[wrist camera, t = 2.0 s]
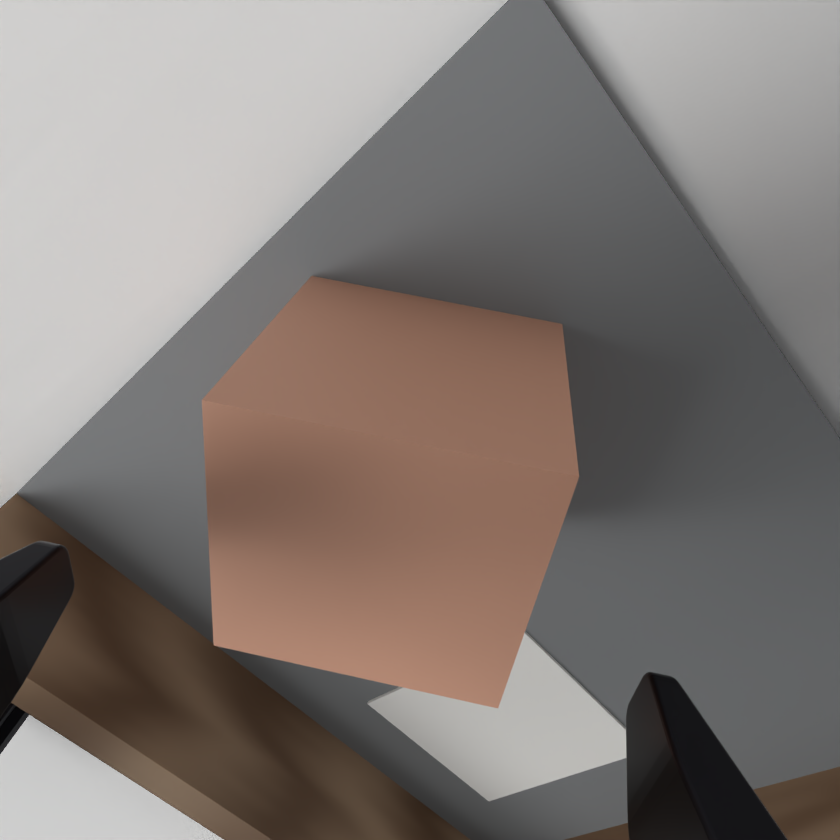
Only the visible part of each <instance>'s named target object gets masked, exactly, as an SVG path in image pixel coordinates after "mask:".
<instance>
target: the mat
mask: <svg viewBox="0 0 840 840" xmlns="http://www.w3.org/2000/svg"><path fill="white" fill-rule="evenodd" d="M311 276H315V277H320V278H325V279H331V280H336V281H341V282H346V283H352V284H357V285H362V286H367V287H372V288H378V289H383V290H388V291H393V292H399V293H404V294H409V295H414V296H419V297H425V298H430V299H435V300H440V301H445V302H451V303H456V304H461V305H466V306H472V307H477V308H482V309H487V310H492V311H498V312H503V313H508V314H513V315H518V316H524V317H529V318H534V319H539V320H545V321H550V322H555V323H560V324H562V326H563V335H564V344H565V353H566V362H567V371H568V380H569V389H570V398H571V407H572V416H573V425H574V434H575V443H576V452H577V461H578V470H579V479H578V482H577V484H576V487H575V490H574V493H573V496H572V499H571V502H570V504H569V507H568V510H567V513H566V516H565V519H564V522H563V524H562V527H561V530H560V533H559V536H558V539H557V542H556V544H555V547H554V550H553V553H552V556H551V559H550V562H549V564H548V567H547V570H546V573H545V576H544V579H543V582H542V584H541V587H540V590H539V593H538V596H537V599H536V602H535V604H534V607H533V610H532V613H531V616H530V619H529V622H528V624H527V627H526V630H525V633H524V636H523V639H522V642H521V644H520V647H519V650H518V653H517V656H516V659H515V662H514V664H513V667H512V670H511V673H510V676H509V679H508V682H507V684H506V687H505V690H504V693H503V696H502V699H501V702H500V704H499V707H498V708H494V707H489V706H484V705H480V704H475V703H471V702H466V701H462V700H457V699H453V698H448V697H444V696H439V695H435V694H430V693H426V692H421V691H417V690H412V689H408V688H403V687H399V686H394V685H390V684H385V683H381V682H376V681H372V680H367V679H363V678H358V677H354V676H349V675H345V674H340V673H336V672H331V671H327V670H322V669H318V668H313V667H309V666H304V665H300V664H295V663H291V662H286V661H282V660H277V659H273V658H268V657H264V656H259V655H254V654H250V653H245V652H241V651H236V650H232V649H227V648H223V647H218V646H217V647H218V648H220V649H221V650H222V651H224V652H225V653H226V654H228V655H229V656H230V657H232V658H233V659H234V660H236V661H237V662H238V663H239V664H241V665H242V666H243V667H245V668H246V669H247V670H249V671H250V672H251V673H253V674H254V675H255V676H256V677H258V678H259V679H260V680H262V681H263V682H264V683H266V684H267V685H268V686H270V687H271V688H272V689H274V690H275V691H276V692H277V693H279V694H280V695H281V696H283V697H284V698H285V699H287V700H288V701H289V702H291V703H292V704H293V705H294V706H296V707H297V708H298V709H300V710H301V711H302V712H304V713H305V714H306V715H308V716H309V717H310V718H312V719H313V720H314V721H315V722H317V723H318V724H319V725H321V726H322V727H323V728H325V729H326V730H327V731H329V732H330V733H331V734H332V735H334V736H335V737H336V738H338V739H339V740H340V741H342V742H343V743H344V744H346V745H347V746H348V747H350V748H351V749H352V750H353V751H355V752H356V753H357V754H359V755H360V756H361V757H363V758H364V759H365V760H367V761H368V762H369V763H370V764H372V765H373V766H374V767H376V768H377V769H378V770H380V771H381V772H382V773H384V774H385V775H386V776H388V777H389V778H390V779H391V780H393V781H394V782H395V783H397V784H398V785H399V786H401V787H402V788H403V789H405V790H406V791H407V792H409V793H410V794H411V795H412V796H414V797H415V798H416V799H418V800H419V801H420V802H422V803H423V804H424V805H426V806H427V807H428V808H429V809H431V810H432V811H433V812H435V813H436V814H437V815H439V816H440V817H441V818H443V819H444V820H445V821H447V822H448V823H449V824H450V825H452V826H453V827H454V828H456V829H457V830H458V831H460V832H461V833H462V834H464V835H465V836H466V837H467V838H469V839H470V840H565V839H569V838H573V837H576V836H580V835H584V834H588V833H591V832H595V831H599V830H603V829H606V828H610V827H614V826H618V825H622V824H625V823H628V817H627V766H626V712H627V707H628V704H629V702H630V700H631V698H632V696H633V694H634V692H635V690H636V688H637V686H638V685H639V683H640V681H641V679H642V677H643V676H644V674H646V673H647V672H654V673H659V674H663V675H668V676H671V677H673V678H675V679H676V680H677V681H678V682H679V683H680V685H681V686H682V688H683V689H684V690H685V692H686V693H687V695H688V696H689V698H690V699H691V701H692V702H693V703H694V705H695V706H696V708H697V709H698V711H699V712H700V714H701V715H702V716H703V718H704V719H705V721H706V722H707V724H708V725H709V727H710V728H711V729H712V731H713V732H714V734H715V735H716V737H717V738H718V740H719V741H720V742H721V744H722V745H723V747H724V748H725V750H726V751H727V753H728V754H729V755H730V757H731V758H732V760H733V761H734V763H735V764H736V766H737V767H738V768H739V770H740V771H741V773H742V774H743V776H744V777H745V779H746V780H747V781H748V783H749V784H750V786H751V787H752V789H757V788H761V787H765V786H768V785H772V784H776V783H780V782H784V781H787V780H791V779H795V778H799V777H802V776H806V775H810V774H814V773H817V772H821V771H825V770H829V769H832V768H836V767H840V438H839V437H838V435H837V434H836V432H835V431H834V429H833V428H832V426H831V425H830V423H829V422H828V420H827V419H826V417H825V416H824V414H823V413H822V412H821V410H820V409H819V407H818V406H817V404H816V403H815V401H814V400H813V398H812V397H811V395H810V394H809V392H808V391H807V389H806V388H805V386H804V385H803V383H802V382H801V380H800V379H799V377H798V376H797V374H796V373H795V371H794V370H793V369H792V367H791V366H790V364H789V363H788V361H787V360H786V358H785V357H784V355H783V354H782V352H781V351H780V349H779V348H778V346H777V345H776V343H775V342H774V340H773V339H772V337H771V336H770V334H769V333H768V331H767V330H766V329H765V327H764V326H763V324H762V323H761V321H760V320H759V318H758V317H757V315H756V314H755V312H754V311H753V309H752V308H751V306H750V305H749V303H748V302H747V300H746V299H745V297H744V296H743V294H742V293H741V291H740V290H739V288H738V287H737V286H736V284H735V283H734V281H733V280H732V278H731V277H730V275H729V274H728V272H727V271H726V269H725V268H724V266H723V265H722V263H721V262H720V260H719V259H718V257H717V256H716V254H715V253H714V251H713V250H712V248H711V247H710V245H709V244H708V243H707V241H706V240H705V238H704V237H703V235H702V234H701V232H700V231H699V229H698V228H697V226H696V225H695V223H694V222H693V220H692V219H691V217H690V216H689V214H688V213H687V211H686V210H685V208H684V207H683V205H682V204H681V203H680V201H679V200H678V198H677V197H676V195H675V194H674V192H673V191H672V189H671V188H670V186H669V185H668V183H667V182H666V180H665V179H664V177H663V176H662V174H661V173H660V171H659V170H658V168H657V167H656V165H655V164H654V162H653V161H652V160H651V158H650V157H649V155H648V154H647V152H646V151H645V149H644V148H643V146H642V145H641V143H640V142H639V140H638V139H637V137H636V136H635V134H634V133H633V131H632V130H631V128H630V127H629V125H628V124H627V122H626V121H625V120H624V118H623V117H622V115H621V114H620V112H619V111H618V109H617V108H616V106H615V105H614V103H613V102H612V100H611V99H610V97H609V96H608V94H607V93H606V91H605V90H604V88H603V87H602V85H601V84H600V82H599V81H598V79H597V78H596V77H595V75H594V74H593V72H592V71H591V69H590V68H589V66H588V65H587V63H586V62H585V60H584V59H583V57H582V56H581V54H580V53H579V51H578V50H577V48H576V47H575V45H574V44H573V42H572V41H571V39H570V38H569V36H568V35H567V34H566V32H565V31H564V29H563V28H562V26H561V25H560V23H559V22H558V20H557V19H556V17H555V16H554V14H553V13H552V11H551V10H550V8H549V7H548V5H547V4H546V2H545V1H544V0H508V1H507V2H506V3H505V4H504V5H503V6H502V7H501V8H500V9H499V10H498V11H497V12H496V13H495V14H494V15H493V16H492V17H491V18H490V19H489V20H488V21H487V22H486V23H485V24H484V25H483V26H482V27H481V28H480V29H479V30H478V31H477V32H476V33H475V34H474V35H473V36H472V37H471V38H470V39H469V40H468V41H467V42H466V43H465V44H464V45H463V46H462V47H461V48H460V49H459V50H458V51H457V52H456V53H455V54H454V55H453V56H452V57H451V58H450V59H449V60H448V61H447V62H446V63H445V64H444V65H443V66H442V67H441V68H440V69H439V70H438V71H437V72H436V73H435V74H434V75H433V76H432V77H431V78H430V79H429V80H428V81H427V82H426V83H425V84H424V85H423V86H422V87H421V88H420V89H419V90H418V91H417V92H416V93H415V94H414V95H413V96H412V97H411V98H410V99H409V100H408V101H407V102H406V103H405V104H404V106H403V107H402V108H401V109H400V110H399V111H398V112H397V113H396V114H395V115H394V116H393V117H392V118H391V119H390V120H389V121H388V122H387V123H386V124H385V125H384V126H383V127H382V128H381V129H380V130H379V131H378V132H377V133H376V134H375V135H374V136H373V137H372V138H371V139H370V140H369V141H368V142H367V143H366V144H365V145H364V146H363V147H362V148H361V149H360V150H359V151H358V152H357V153H356V154H355V155H354V156H353V157H352V158H351V159H350V160H349V161H348V162H347V163H346V164H345V165H344V166H343V167H342V168H341V169H340V170H339V171H338V172H337V173H336V174H335V175H334V176H333V177H332V178H331V179H330V180H329V181H328V182H327V183H326V184H325V185H324V186H323V187H322V188H321V189H320V190H319V191H318V192H317V193H316V194H315V195H314V196H313V197H312V198H311V199H310V200H309V201H308V202H307V203H306V204H305V205H304V206H303V207H302V208H301V209H300V210H299V211H298V212H297V213H296V214H295V215H294V216H293V217H292V218H291V219H290V220H289V221H288V222H287V223H286V224H285V225H284V226H283V227H282V228H281V229H280V230H279V231H278V232H277V233H276V234H275V235H274V236H273V237H272V238H271V239H270V240H269V241H268V242H267V243H266V244H265V245H264V246H263V247H262V248H261V249H260V250H259V251H258V252H257V253H256V254H255V255H254V256H253V257H252V258H251V259H250V260H249V261H248V262H247V263H246V264H245V265H244V266H243V267H242V268H241V269H240V270H239V271H238V272H237V273H236V274H235V275H234V276H233V277H232V278H231V279H230V280H229V281H228V282H227V283H226V284H225V285H224V286H223V287H222V288H221V289H220V290H219V291H218V292H217V293H216V294H215V295H214V296H213V297H212V298H211V299H210V300H209V301H208V302H207V303H206V304H205V305H204V306H203V307H202V308H201V309H200V310H199V311H198V312H197V313H196V314H195V315H194V316H193V317H192V318H191V319H190V320H189V321H188V322H187V323H186V324H185V325H184V326H183V327H182V328H181V329H180V330H179V331H178V332H177V333H176V334H175V335H174V336H173V337H172V338H171V339H170V340H169V341H168V342H167V343H166V344H165V345H164V346H163V347H162V348H161V349H160V350H159V351H158V352H157V353H156V354H155V355H154V356H153V357H152V358H151V359H150V360H149V361H148V362H147V363H146V364H145V365H144V366H143V367H142V368H141V369H140V370H139V371H138V372H137V373H136V374H135V375H134V376H133V377H132V378H131V379H130V380H129V381H128V382H127V383H126V384H125V385H124V386H123V387H122V388H121V389H120V390H119V391H118V392H117V393H116V394H115V395H114V396H113V397H112V398H111V399H110V400H109V401H108V402H107V403H106V404H105V405H104V406H103V407H102V408H101V409H100V410H99V411H98V412H97V413H96V414H95V415H94V416H93V417H92V418H91V419H90V420H89V421H88V422H87V423H86V424H85V425H84V426H83V427H82V428H81V429H80V430H79V431H78V432H77V433H76V434H75V435H74V436H73V437H72V438H71V439H70V440H69V441H68V442H67V443H66V444H65V445H64V446H63V447H62V448H61V449H60V450H59V451H58V452H57V453H56V454H55V455H54V456H53V457H52V458H51V459H50V460H49V461H48V462H47V463H46V464H45V465H44V466H43V467H42V468H41V469H40V470H39V471H38V472H37V473H36V474H35V475H34V476H33V477H32V478H31V479H30V480H29V481H28V482H27V483H26V484H25V485H24V486H23V487H22V488H21V489H20V490H19V491H18V492H17V494H18V495H19V496H21V497H22V498H23V499H24V500H26V501H27V502H28V503H30V504H31V505H32V506H34V507H35V508H36V509H38V510H39V511H40V512H42V513H43V514H44V515H45V516H47V517H48V518H49V519H51V520H52V521H53V522H55V523H56V524H57V525H59V526H60V527H61V528H63V529H64V530H65V531H66V532H68V533H69V534H70V535H72V536H73V537H74V538H76V539H77V540H78V541H80V542H81V543H82V544H83V545H85V546H86V547H87V548H89V549H90V550H91V551H93V552H94V553H95V554H97V555H98V556H99V557H101V558H102V559H103V560H104V561H106V562H107V563H108V564H110V565H111V566H112V567H114V568H115V569H116V570H118V571H119V572H120V573H121V574H123V575H124V576H125V577H127V578H128V579H129V580H131V581H132V582H133V583H135V584H136V585H137V586H139V587H140V588H141V589H142V590H144V591H145V592H146V593H148V594H149V595H150V596H152V597H153V598H154V599H156V600H157V601H158V602H159V603H161V604H162V605H163V606H165V607H166V608H167V609H169V610H170V611H171V612H173V613H174V614H175V615H177V616H178V617H179V618H180V619H182V620H183V621H184V622H186V623H187V624H188V625H190V626H191V627H192V628H194V629H195V630H196V631H197V632H199V633H200V634H201V635H203V636H204V637H205V638H207V639H208V640H209V641H211V642H212V643H213V622H212V601H211V581H210V560H209V539H208V519H207V498H206V477H205V457H204V436H203V416H202V399H203V398H204V397H205V396H206V395H207V394H208V392H209V391H210V390H211V389H212V388H213V387H214V386H215V384H216V383H217V382H218V381H219V380H220V379H221V378H222V377H223V375H224V374H225V373H226V372H227V371H228V370H229V369H230V368H231V366H232V365H233V364H234V363H235V362H236V361H237V360H238V358H239V357H240V356H241V355H242V354H243V353H244V352H245V351H246V349H247V348H248V347H249V346H250V345H251V344H252V343H253V341H254V340H255V339H256V338H257V337H258V336H259V335H260V334H261V332H262V331H263V330H264V329H265V328H266V327H267V326H268V325H269V323H270V322H271V321H272V320H273V319H274V318H275V317H276V315H277V314H278V313H279V312H280V311H281V310H282V309H283V308H284V306H285V305H286V304H287V303H288V302H289V301H290V300H291V298H292V297H293V296H294V295H295V294H296V293H297V292H298V291H299V289H300V288H301V287H302V286H303V285H304V284H305V283H306V282H307V280H308V279H309V278H310V277H311ZM213 644H214V643H213Z"/></svg>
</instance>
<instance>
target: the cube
mask: <svg viewBox="0 0 840 840" xmlns="http://www.w3.org/2000/svg"><path fill="white" fill-rule="evenodd" d="M202 416H203V436H204V457H205V477H206V498H207V519H208V539H209V560H210V581H211V601H212V622H213V643H214V646H218V647H223V648H227V649H232V650H236V651H241V652H245V653H250V654H254V655H259V656H264V657H268V658H273V659H277V660H282V661H286V662H291V663H295V664H300V665H304V666H309V667H313V668H318V669H322V670H327V671H331V672H336V673H340V674H345V675H349V676H354V677H358V678H363V679H367V680H372V681H376V682H381V683H385V684H390V685H394V686H399V687H403V688H408V689H412V690H417V691H421V692H426V693H430V694H435V695H439V696H444V697H448V698H453V699H457V700H462V701H466V702H471V703H475V704H480V705H484V706H489V707H494V708H498V707H499V704H500V702H501V699H502V696H503V693H504V690H505V687H506V684H507V682H508V679H509V676H510V673H511V670H512V667H513V664H514V662H515V659H516V656H517V653H518V650H519V647H520V644H521V642H522V639H523V636H524V633H525V630H526V627H527V624H528V622H529V619H530V616H531V613H532V610H533V607H534V604H535V602H536V599H537V596H538V593H539V590H540V587H541V584H542V582H543V579H544V576H545V573H546V570H547V567H548V564H549V562H550V559H551V556H552V553H553V550H554V547H555V544H556V542H557V539H558V536H559V533H560V530H561V527H562V524H563V522H564V519H565V516H566V513H567V510H568V507H569V504H570V502H571V499H572V496H573V493H574V490H575V487H576V484H577V482H578V479H579V470H578V461H577V452H576V443H575V434H574V425H573V416H572V407H571V398H570V389H569V380H568V371H567V362H566V353H565V344H564V335H563V326H562V324H560V323H555V322H550V321H545V320H539V319H534V318H529V317H524V316H518V315H513V314H508V313H503V312H498V311H492V310H487V309H482V308H477V307H472V306H466V305H461V304H456V303H451V302H445V301H440V300H435V299H430V298H425V297H419V296H414V295H409V294H404V293H399V292H393V291H388V290H383V289H378V288H372V287H367V286H362V285H357V284H352V283H346V282H341V281H336V280H331V279H325V278H320V277H315V276H311V277H310V278H309V279H308V280H307V282H306V283H305V284H304V285H303V286H302V287H301V288H300V289H299V291H298V292H297V293H296V294H295V295H294V296H293V297H292V298H291V300H290V301H289V302H288V303H287V304H286V305H285V306H284V308H283V309H282V310H281V311H280V312H279V313H278V314H277V315H276V317H275V318H274V319H273V320H272V321H271V322H270V323H269V325H268V326H267V327H266V328H265V329H264V330H263V331H262V332H261V334H260V335H259V336H258V337H257V338H256V339H255V340H254V341H253V343H252V344H251V345H250V346H249V347H248V348H247V349H246V351H245V352H244V353H243V354H242V355H241V356H240V357H239V358H238V360H237V361H236V362H235V363H234V364H233V365H232V366H231V368H230V369H229V370H228V371H227V372H226V373H225V374H224V375H223V377H222V378H221V379H220V380H219V381H218V382H217V383H216V384H215V386H214V387H213V388H212V389H211V390H210V391H209V392H208V394H207V395H206V396H205V397H204V398H203V399H202Z"/></svg>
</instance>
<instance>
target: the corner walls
mask: <svg viewBox="0 0 840 840" xmlns="http://www.w3.org/2000/svg"><path fill="white" fill-rule="evenodd" d="M37 541H46V542H51V543H56V544H60V545H63V546H65V547H66V548H67V550H68V552H69V557H70V561H71V566H72V571H73V576H74V582H75V584H74V591H73V594H72V596H71V598H70V600H69V602H68V604H67V606H66V608H65V609H64V611H63V613H62V615H61V617H60V618H59V620H58V622H57V624H56V626H55V627H54V629H53V631H52V633H51V635H50V637H49V638H48V640H47V642H46V644H45V646H44V647H43V649H42V651H41V653H40V655H39V657H38V658H37V660H36V662H35V664H34V666H33V667H32V669H31V671H30V673H29V675H28V676H27V678H26V680H25V681H24V683H23V685H22V686H21V688H20V690H19V691H18V693H17V694H16V696H15V697H14V699H13V700H12V702H11V703H12V704H14V705H16V706H17V707H19V708H20V709H22V710H23V711H25V712H26V713H28V714H30V715H31V716H33V717H34V718H36V719H37V720H39V721H40V722H42V723H44V724H45V725H47V726H48V727H50V728H51V729H53V730H54V731H56V732H58V733H59V734H61V735H62V736H64V737H65V738H67V739H68V740H70V741H72V742H73V743H75V744H76V745H78V746H79V747H81V748H82V749H84V750H85V751H87V752H89V753H90V754H92V755H93V756H95V757H96V758H98V759H99V760H101V761H103V762H104V763H106V764H107V765H109V766H110V767H112V768H113V769H115V770H117V771H118V772H120V773H121V774H123V775H124V776H126V777H127V778H129V779H131V780H132V781H134V782H135V783H137V784H138V785H140V786H141V787H143V788H145V789H146V790H148V791H149V792H151V793H152V794H154V795H155V796H157V797H159V798H160V799H162V800H163V801H165V802H166V803H168V804H169V805H171V806H173V807H174V808H176V809H177V810H179V811H180V812H182V813H183V814H185V815H187V816H188V817H190V818H191V819H193V820H194V821H196V822H197V823H199V824H201V825H202V826H204V827H205V828H207V829H208V830H210V831H211V832H213V833H215V834H216V835H218V836H219V837H221V838H222V839H224V840H470V839H469V838H467V837H466V836H465V835H464V834H462V833H461V832H460V831H458V830H457V829H456V828H454V827H453V826H452V825H450V824H449V823H448V822H447V821H445V820H444V819H443V818H441V817H440V816H439V815H437V814H436V813H435V812H433V811H432V810H431V809H429V808H428V807H427V806H426V805H424V804H423V803H422V802H420V801H419V800H418V799H416V798H415V797H414V796H412V795H411V794H410V793H409V792H407V791H406V790H405V789H403V788H402V787H401V786H399V785H398V784H397V783H395V782H394V781H393V780H391V779H390V778H389V777H388V776H386V775H385V774H384V773H382V772H381V771H380V770H378V769H377V768H376V767H374V766H373V765H372V764H370V763H369V762H368V761H367V760H365V759H364V758H363V757H361V756H360V755H359V754H357V753H356V752H355V751H353V750H352V749H351V748H350V747H348V746H347V745H346V744H344V743H343V742H342V741H340V740H339V739H338V738H336V737H335V736H334V735H332V734H331V733H330V732H329V731H327V730H326V729H325V728H323V727H322V726H321V725H319V724H318V723H317V722H315V721H314V720H313V719H312V718H310V717H309V716H308V715H306V714H305V713H304V712H302V711H301V710H300V709H298V708H297V707H296V706H294V705H293V704H292V703H291V702H289V701H288V700H287V699H285V698H284V697H283V696H281V695H280V694H279V693H277V692H276V691H275V690H274V689H272V688H271V687H270V686H268V685H267V684H266V683H264V682H263V681H262V680H260V679H259V678H258V677H256V676H255V675H254V674H253V673H251V672H250V671H249V670H247V669H246V668H245V667H243V666H242V665H241V664H239V663H238V662H237V661H236V660H234V659H233V658H232V657H230V656H229V655H228V654H226V653H225V652H224V651H222V650H221V649H220V648H218V647H217V646H214V644H213V643H212V642H211V641H209V640H208V639H207V638H205V637H204V636H203V635H201V634H200V633H199V632H197V631H196V630H195V629H194V628H192V627H191V626H190V625H188V624H187V623H186V622H184V621H183V620H182V619H180V618H179V617H178V616H177V615H175V614H174V613H173V612H171V611H170V610H169V609H167V608H166V607H165V606H163V605H162V604H161V603H159V602H158V601H157V600H156V599H154V598H153V597H152V596H150V595H149V594H148V593H146V592H145V591H144V590H142V589H141V588H140V587H139V586H137V585H136V584H135V583H133V582H132V581H131V580H129V579H128V578H127V577H125V576H124V575H123V574H121V573H120V572H119V571H118V570H116V569H115V568H114V567H112V566H111V565H110V564H108V563H107V562H106V561H104V560H103V559H102V558H101V557H99V556H98V555H97V554H95V553H94V552H93V551H91V550H90V549H89V548H87V547H86V546H85V545H83V544H82V543H81V542H80V541H78V540H77V539H76V538H74V537H73V536H72V535H70V534H69V533H68V532H66V531H65V530H64V529H63V528H61V527H60V526H59V525H57V524H56V523H55V522H53V521H52V520H51V519H49V518H48V517H47V516H45V515H44V514H43V513H42V512H40V511H39V510H38V509H36V508H35V507H34V506H32V505H31V504H30V503H28V502H27V501H26V500H24V499H23V498H22V497H21V496H19V495H18V494H17V493H16V494H15V495H14V496H13V497H12V498H11V499H10V500H9V501H8V502H7V503H5V504H4V505H3V506H2V507H1V508H0V559H1V558H3V557H5V556H7V555H9V554H11V553H13V552H15V551H17V550H19V549H21V548H23V547H26V546H28V545H30V544H32V543H34V542H37ZM753 790H754V792H755V793H756V794H757V796H758V797H759V799H760V800H761V802H762V803H763V805H764V806H765V807H766V809H767V810H768V812H769V813H770V815H771V816H772V818H773V819H774V820H775V822H776V823H777V825H778V826H779V828H780V829H781V831H782V832H783V833H784V835H785V836H786V838H787V839H788V840H840V767H836V768H832V769H829V770H825V771H821V772H817V773H814V774H810V775H806V776H802V777H799V778H795V779H791V780H787V781H784V782H780V783H776V784H772V785H768V786H765V787H761V788H757V789H753ZM565 840H629V832H628V823H625V824H622V825H618V826H614V827H610V828H606V829H603V830H599V831H595V832H591V833H588V834H584V835H580V836H576V837H573V838H569V839H565Z"/></svg>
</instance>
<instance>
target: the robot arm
mask: <svg viewBox="0 0 840 840" xmlns="http://www.w3.org/2000/svg"><path fill="white" fill-rule="evenodd" d="M74 584H75V582H74V576H73V571H72V566H71V561H70V557H69V552H68V550H67V548H66V547H65V546H63V545H60V544H56V543H51V542H46V541H37V542H34V543H32V544H30V545H28V546H26V547H23V548H21V549H19V550H17V551H15V552H13V553H11V554H9V555H7V556H5V557H3V558H1V559H0V754H1V752H2V751H3V750H4V748H5V747H6V746H7V744H8V743H9V741H10V740H11V739H12V737H13V736H14V735H15V733H16V732H17V730H18V729H19V728H20V726H21V725H22V724H23V722H24V721H25V720H26V718H27V717H28V715H29V714H28V713H26V712H25V711H23V710H22V709H20V708H19V707H17V706H16V705H14V704H12V703H11V702H12V700H13V699H14V697H15V696H16V694H17V693H18V691H19V690H20V688H21V686H22V685H23V683H24V681H25V680H26V678H27V676H28V675H29V673H30V671H31V669H32V667H33V666H34V664H35V662H36V660H37V658H38V657H39V655H40V653H41V651H42V649H43V647H44V646H45V644H46V642H47V640H48V638H49V637H50V635H51V633H52V631H53V629H54V627H55V626H56V624H57V622H58V620H59V618H60V617H61V615H62V613H63V611H64V609H65V608H66V606H67V604H68V602H69V600H70V598H71V596H72V594H73V591H74ZM626 766H627V817H628V832H629V840H788V839H787V838H786V836H785V835H784V833H783V832H782V831H781V829H780V828H779V826H778V825H777V823H776V822H775V820H774V819H773V818H772V816H771V815H770V813H769V812H768V810H767V809H766V807H765V806H764V805H763V803H762V802H761V800H760V799H759V797H758V796H757V794H756V793H755V792H754V790H753V789H752V787H751V786H750V784H749V783H748V781H747V780H746V779H745V777H744V776H743V774H742V773H741V771H740V770H739V768H738V767H737V766H736V764H735V763H734V761H733V760H732V758H731V757H730V755H729V754H728V753H727V751H726V750H725V748H724V747H723V745H722V744H721V742H720V741H719V740H718V738H717V737H716V735H715V734H714V732H713V731H712V729H711V728H710V727H709V725H708V724H707V722H706V721H705V719H704V718H703V716H702V715H701V714H700V712H699V711H698V709H697V708H696V706H695V705H694V703H693V702H692V701H691V699H690V698H689V696H688V695H687V693H686V692H685V690H684V689H683V688H682V686H681V685H680V683H679V682H678V681H677V680H676V679H675V678H673V677H671V676H668V675H663V674H659V673H654V672H647V673H646V674H644V676H643V677H642V679H641V681H640V683H639V685H638V686H637V688H636V690H635V692H634V694H633V696H632V698H631V700H630V702H629V704H628V707H627V712H626Z"/></svg>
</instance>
